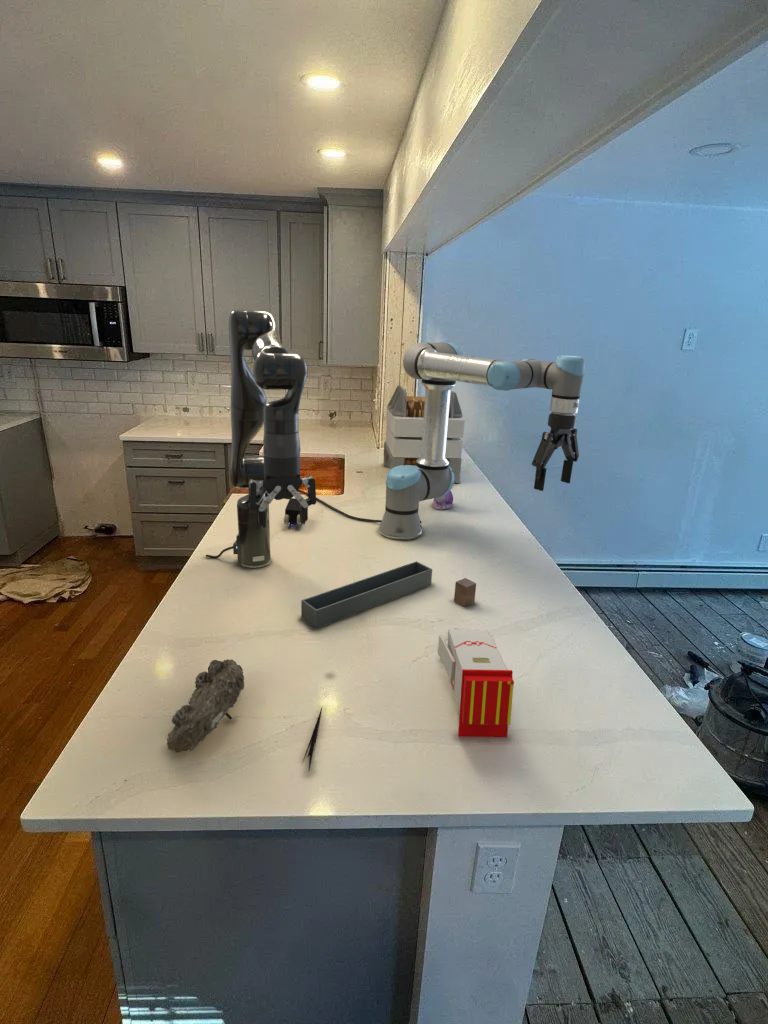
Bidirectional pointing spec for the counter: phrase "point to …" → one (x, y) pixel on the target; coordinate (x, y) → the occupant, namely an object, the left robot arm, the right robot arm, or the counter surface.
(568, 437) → the right robot arm
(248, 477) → the left robot arm
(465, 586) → the walnut block
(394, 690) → the counter surface
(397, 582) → the trough
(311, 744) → the feather
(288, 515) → the figurine character
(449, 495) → the figurine
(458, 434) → the white crate
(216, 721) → the fossil
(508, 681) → the toy
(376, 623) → the counter surface
